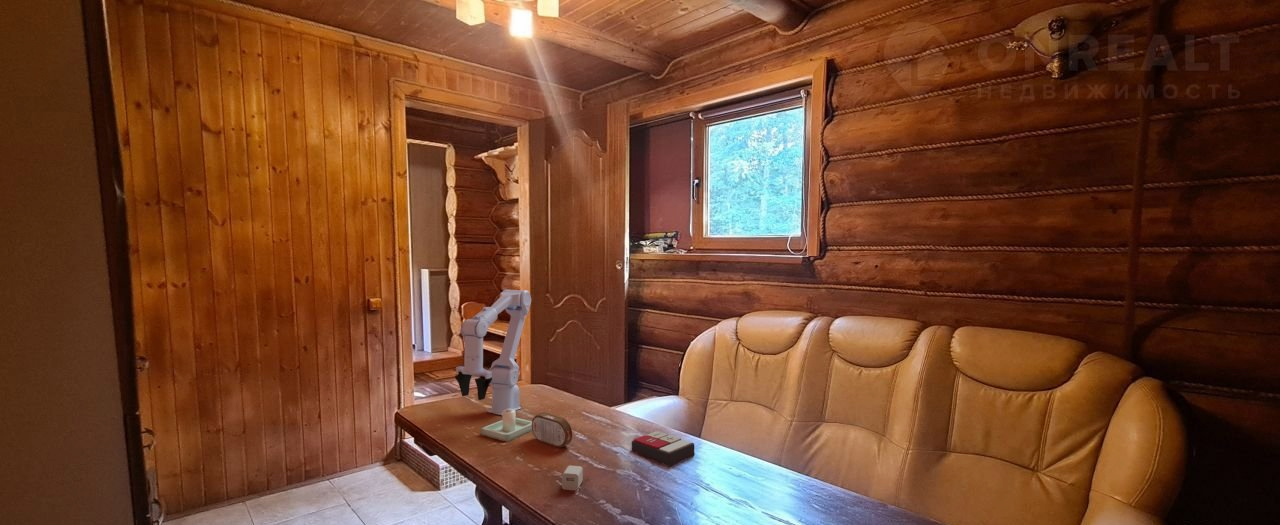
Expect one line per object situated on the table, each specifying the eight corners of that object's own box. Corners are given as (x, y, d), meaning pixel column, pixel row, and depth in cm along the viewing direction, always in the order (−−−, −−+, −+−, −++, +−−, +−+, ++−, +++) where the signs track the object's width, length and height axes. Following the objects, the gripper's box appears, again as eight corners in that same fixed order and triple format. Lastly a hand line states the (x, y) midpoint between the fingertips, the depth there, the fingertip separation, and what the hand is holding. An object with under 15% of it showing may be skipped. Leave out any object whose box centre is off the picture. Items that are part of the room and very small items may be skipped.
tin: (573, 448, 142) (573, 419, 142) (565, 451, 139) (565, 422, 139) (537, 436, 150) (537, 409, 150) (529, 439, 148) (529, 412, 148)
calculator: (656, 429, 149) (694, 440, 138) (657, 443, 149) (695, 455, 138) (630, 438, 141) (668, 451, 130) (631, 453, 141) (669, 467, 130)
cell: (508, 426, 156) (509, 406, 156) (518, 429, 154) (518, 408, 154) (499, 430, 153) (499, 410, 153) (508, 432, 151) (509, 412, 151)
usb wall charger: (562, 489, 117) (562, 472, 117) (569, 476, 124) (570, 460, 124) (578, 490, 116) (578, 474, 116) (585, 477, 123) (585, 462, 123)
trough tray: (511, 422, 162) (511, 416, 162) (536, 428, 157) (536, 422, 157) (480, 434, 151) (480, 428, 151) (506, 441, 145) (506, 435, 145)
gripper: (448, 355, 158) (448, 396, 158) (479, 360, 151) (479, 404, 151) (465, 351, 164) (465, 391, 164) (496, 356, 157) (496, 398, 157)
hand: (473, 397), depth 158 cm, fingers open, 7 cm apart
